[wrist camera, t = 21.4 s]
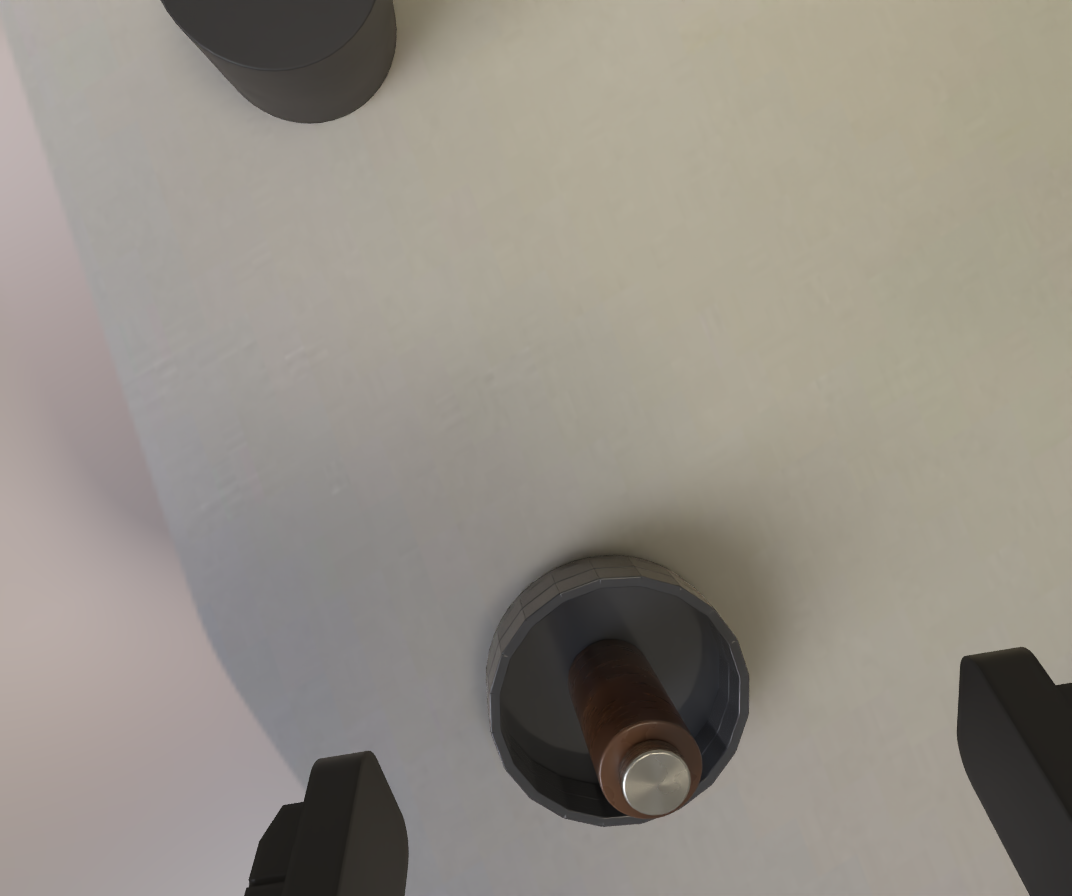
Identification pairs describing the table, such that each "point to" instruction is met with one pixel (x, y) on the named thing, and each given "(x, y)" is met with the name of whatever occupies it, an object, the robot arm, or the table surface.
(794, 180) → the table surface
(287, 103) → the stand
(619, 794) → the pepper mill
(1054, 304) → the table surface
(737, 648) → the pan
